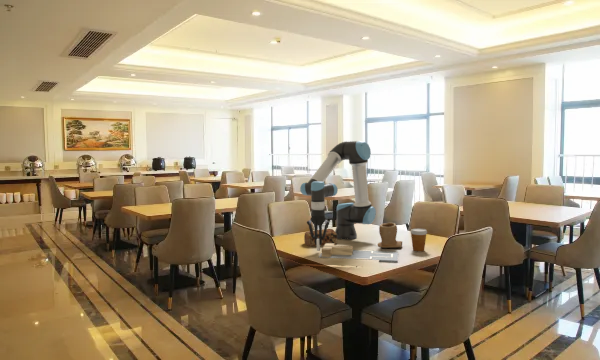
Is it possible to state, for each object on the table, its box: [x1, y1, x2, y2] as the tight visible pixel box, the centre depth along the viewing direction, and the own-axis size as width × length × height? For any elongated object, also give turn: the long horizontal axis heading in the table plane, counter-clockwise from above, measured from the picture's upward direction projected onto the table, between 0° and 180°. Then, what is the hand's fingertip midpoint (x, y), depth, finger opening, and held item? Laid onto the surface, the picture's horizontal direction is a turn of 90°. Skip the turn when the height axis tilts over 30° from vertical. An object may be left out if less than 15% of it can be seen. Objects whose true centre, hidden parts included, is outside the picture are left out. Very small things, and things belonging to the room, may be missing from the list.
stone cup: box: [377, 222, 403, 249], centre depth 258 cm, size 15×12×15 cm
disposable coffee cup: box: [409, 228, 428, 252], centre depth 251 cm, size 10×10×12 cm
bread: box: [303, 228, 338, 247], centre depth 267 cm, size 19×11×10 cm, turn 105°
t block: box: [321, 243, 354, 257], centre depth 241 cm, size 16×16×4 cm
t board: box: [318, 249, 399, 263], centre depth 239 cm, size 20×42×1 cm, turn 78°
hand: (318, 250), depth 244 cm, fingers closed
